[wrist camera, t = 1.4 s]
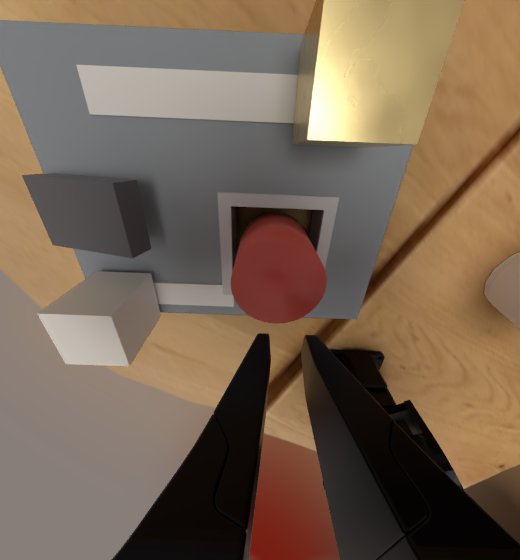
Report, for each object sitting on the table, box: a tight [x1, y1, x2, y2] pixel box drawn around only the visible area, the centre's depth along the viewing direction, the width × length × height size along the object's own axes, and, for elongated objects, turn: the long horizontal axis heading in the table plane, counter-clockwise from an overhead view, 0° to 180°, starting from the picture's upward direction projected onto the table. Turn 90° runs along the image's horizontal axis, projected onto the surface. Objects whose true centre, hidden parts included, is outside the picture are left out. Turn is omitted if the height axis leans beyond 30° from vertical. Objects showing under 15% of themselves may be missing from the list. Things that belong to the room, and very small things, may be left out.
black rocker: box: [22, 173, 151, 258], centre depth 13 cm, size 4×6×2 cm, turn 88°
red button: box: [231, 213, 327, 323], centre depth 14 cm, size 5×5×6 cm
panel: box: [0, 20, 413, 319], centre depth 16 cm, size 17×22×3 cm
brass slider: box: [292, 0, 465, 148], centre depth 9 cm, size 4×4×5 cm
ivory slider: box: [38, 271, 161, 366], centre depth 15 cm, size 4×4×5 cm
